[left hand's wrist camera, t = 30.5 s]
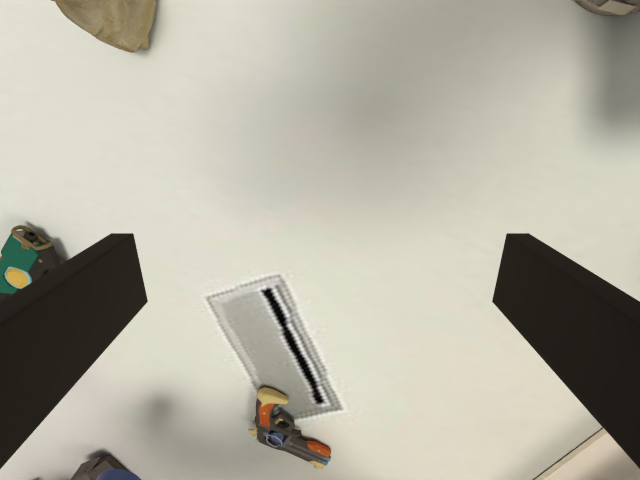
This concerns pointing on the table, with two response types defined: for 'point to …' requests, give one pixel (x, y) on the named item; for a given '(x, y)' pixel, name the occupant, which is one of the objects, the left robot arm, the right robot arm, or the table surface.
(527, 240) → the left robot arm
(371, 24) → the table surface
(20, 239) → the spray gun
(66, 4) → the sculpture
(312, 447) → the toy gun
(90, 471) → the toy
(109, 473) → the can
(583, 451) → the tablet stand
